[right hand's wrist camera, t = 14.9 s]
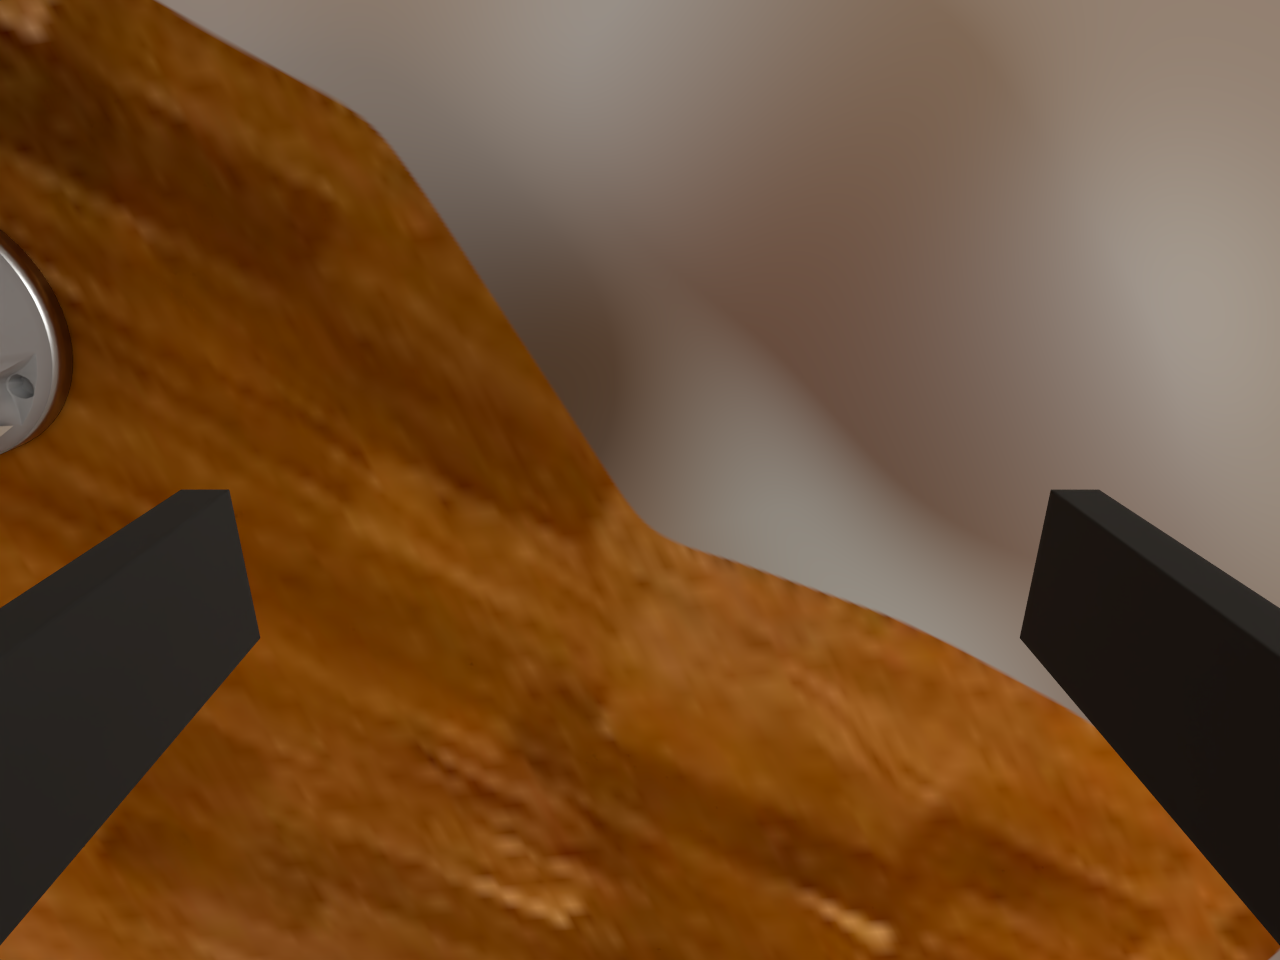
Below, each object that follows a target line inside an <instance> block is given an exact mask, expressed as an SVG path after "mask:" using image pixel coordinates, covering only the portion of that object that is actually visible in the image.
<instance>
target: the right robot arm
mask: <svg viewBox="0 0 1280 960" xmlns="http://www.w3.org/2000/svg"><path fill="white" fill-rule="evenodd" d="M72 372H73V355H72V345H71V339H70V334H69V330H68V327H67V323H66V320H65V317H64V314H63V312H62V309H61V307H60V305H59V303H58V300H57V298H56V296H55V294H54V293H53V291H52V289H51V287H50V286H49V284H48V282H47V281H46V279H45V278H44V276H43V275H42V273H41V272H40V270H39V269H38V268H37V266H36V265H35V264H34V263H33V261H32V260H31V259H30V258H29V257H28V255H27V254H26V253H25V252H24V251H23V250H22V249H21V248H20V247H19V246H18V245H17V244H16V243H15V242H14V241H13V240H12V239H11V238H10V237H9V236H8V235H6V234H5V233H4V232H3V231H1V230H0V454H2V453H4V452H6V451H9V450H11V449H14V448H16V447H18V446H21V445H23V444H25V443H27V442H29V441H31V440H32V439H34V438H36V437H37V436H38V435H40V434H41V433H42V432H43V431H45V430H46V429H47V428H48V427H49V426H50V424H51V423H52V422H53V421H54V420H55V418H56V417H57V416H58V414H59V413H60V411H61V409H62V407H63V405H64V403H65V401H66V398H67V396H68V392H69V389H70V385H71V379H72ZM259 639H260V635H259V630H258V625H257V620H256V616H255V611H254V606H253V601H252V596H251V592H250V587H249V582H248V577H247V573H246V568H245V563H244V558H243V554H242V549H241V544H240V539H239V535H238V530H237V525H236V520H235V516H234V511H233V506H232V501H231V497H230V492H229V490H180V491H178V492H177V493H175V494H174V495H172V496H171V497H169V498H168V499H166V500H165V501H163V502H162V503H160V504H159V505H157V506H156V507H154V508H153V509H151V510H149V511H148V512H146V513H145V514H143V515H142V516H140V517H139V518H137V519H136V520H134V521H133V522H131V523H130V524H128V525H127V526H125V527H124V528H122V529H120V530H119V531H117V532H116V533H114V534H113V535H111V536H110V537H108V538H107V539H105V540H104V541H102V542H101V543H99V544H98V545H96V546H95V547H93V548H91V549H90V550H88V551H87V552H85V553H84V554H82V555H81V556H79V557H78V558H76V559H75V560H73V561H72V562H70V563H69V564H67V565H66V566H64V567H62V568H61V569H59V570H58V571H56V572H55V573H53V574H52V575H50V576H49V577H47V578H46V579H44V580H43V581H41V582H40V583H38V584H37V585H35V586H34V587H32V588H30V589H29V590H27V591H26V592H24V593H23V594H21V595H20V596H18V597H17V598H15V599H14V600H12V601H11V602H9V603H8V604H6V605H5V606H3V607H1V608H0V945H1V944H2V943H3V941H4V940H5V939H6V938H7V937H8V935H9V934H10V933H11V932H12V931H13V930H14V928H15V927H16V926H17V925H18V924H19V922H20V921H21V920H22V919H23V918H24V917H25V915H26V914H27V913H28V912H29V911H30V909H31V908H32V907H33V906H34V905H35V904H36V902H37V901H38V900H39V899H40V898H41V896H42V895H43V894H44V893H45V892H46V891H47V889H48V888H49V887H50V886H51V885H52V883H53V882H54V881H55V880H56V879H57V878H58V876H59V875H60V874H61V873H62V872H63V870H64V869H65V868H66V867H67V866H68V865H69V863H70V862H71V861H72V860H73V859H74V857H75V856H76V855H77V854H78V853H79V852H80V850H81V849H82V848H83V847H84V846H85V844H86V843H87V842H88V841H89V840H90V839H91V837H92V836H93V835H94V834H95V833H96V831H97V830H98V829H99V828H100V827H101V826H102V824H103V823H104V822H105V821H106V820H107V818H108V817H109V816H110V815H111V814H112V813H113V811H114V810H115V809H116V808H117V807H118V805H119V804H120V803H121V802H122V801H123V800H124V798H125V797H126V796H127V795H128V794H129V792H130V791H131V790H132V789H133V788H134V787H135V785H136V784H137V783H138V782H139V781H140V779H141V778H142V777H143V776H144V775H145V774H146V772H147V771H148V770H149V769H150V768H151V766H152V765H153V764H154V763H155V762H156V761H157V759H158V758H159V757H160V756H161V755H162V753H163V752H164V751H165V750H166V749H167V748H168V746H169V745H170V744H171V743H172V742H173V740H174V739H175V738H176V737H177V736H178V735H179V733H180V732H181V731H182V730H183V729H184V727H185V726H186V725H187V724H188V723H189V722H190V720H191V719H192V718H193V717H194V716H195V714H196V713H197V712H198V711H199V710H200V709H201V707H202V706H203V705H204V704H205V703H206V701H207V700H208V699H209V698H210V697H211V695H212V694H213V693H214V692H215V691H216V690H217V688H218V687H219V686H220V685H221V684H222V682H223V681H224V680H225V679H226V678H227V677H228V675H229V674H230V673H231V672H232V671H233V669H234V668H235V667H236V666H237V665H238V664H239V662H240V661H241V660H242V659H243V658H244V656H245V655H246V654H247V653H248V652H249V651H250V649H251V648H252V647H253V646H254V645H255V643H256V642H257V641H258V640H259ZM1020 639H1021V640H1022V641H1023V642H1024V643H1025V645H1026V646H1027V647H1028V648H1029V649H1030V651H1031V652H1032V653H1033V654H1034V655H1035V656H1036V658H1037V659H1038V660H1039V661H1040V662H1041V664H1042V665H1043V666H1044V667H1045V668H1046V669H1047V671H1048V672H1049V673H1050V674H1051V675H1052V677H1053V678H1054V679H1055V680H1056V681H1057V682H1058V684H1059V685H1060V686H1061V687H1062V688H1063V690H1064V691H1065V692H1066V693H1067V694H1068V695H1069V697H1070V698H1071V699H1072V700H1073V701H1074V703H1075V704H1076V705H1077V706H1078V707H1079V709H1080V710H1081V711H1082V712H1083V713H1084V714H1085V716H1086V717H1087V718H1088V719H1089V720H1090V722H1091V723H1092V724H1093V725H1094V726H1095V727H1096V729H1097V730H1098V731H1099V732H1100V733H1101V735H1102V736H1103V737H1104V738H1105V739H1106V740H1107V742H1108V743H1109V744H1110V745H1111V746H1112V748H1113V749H1114V750H1115V751H1116V752H1117V753H1118V755H1119V756H1120V757H1121V758H1122V759H1123V761H1124V762H1125V763H1126V764H1127V765H1128V766H1129V768H1130V769H1131V770H1132V771H1133V772H1134V774H1135V775H1136V776H1137V777H1138V778H1139V779H1140V781H1141V782H1142V783H1143V784H1144V785H1145V787H1146V788H1147V789H1148V790H1149V791H1150V792H1151V794H1152V795H1153V796H1154V797H1155V798H1156V800H1157V801H1158V802H1159V803H1160V804H1161V805H1162V807H1163V808H1164V809H1165V810H1166V811H1167V813H1168V814H1169V815H1170V816H1171V817H1172V818H1173V820H1174V821H1175V822H1176V823H1177V824H1178V826H1179V827H1180V828H1181V829H1182V830H1183V831H1184V833H1185V834H1186V835H1187V836H1188V837H1189V839H1190V840H1191V841H1192V842H1193V843H1194V844H1195V846H1196V847H1197V848H1198V849H1199V850H1200V852H1201V853H1202V854H1203V855H1204V856H1205V857H1206V859H1207V860H1208V861H1209V862H1210V863H1211V865H1212V866H1213V867H1214V868H1215V869H1216V870H1217V872H1218V873H1219V874H1220V875H1221V876H1222V878H1223V879H1224V880H1225V881H1226V882H1227V883H1228V885H1229V886H1230V887H1231V888H1232V889H1233V891H1234V892H1235V893H1236V894H1237V895H1238V896H1239V898H1240V899H1241V900H1242V901H1243V902H1244V904H1245V905H1246V906H1247V907H1248V908H1249V909H1250V911H1251V912H1252V913H1253V914H1254V915H1255V917H1256V918H1257V919H1258V920H1259V921H1260V922H1261V924H1262V925H1263V926H1264V927H1265V928H1266V930H1267V931H1268V932H1269V933H1270V934H1271V935H1272V937H1273V938H1274V939H1275V940H1276V941H1277V943H1278V944H1279V945H1280V608H1279V607H1277V606H1275V605H1274V604H1272V603H1271V602H1269V601H1268V600H1266V599H1265V598H1263V597H1262V596H1260V595H1259V594H1257V593H1256V592H1254V591H1253V590H1251V589H1250V588H1248V587H1246V586H1245V585H1243V584H1242V583H1240V582H1239V581H1237V580H1236V579H1234V578H1233V577H1231V576H1230V575H1228V574H1227V573H1225V572H1224V571H1222V570H1221V569H1219V568H1217V567H1216V566H1214V565H1213V564H1211V563H1210V562H1208V561H1207V560H1205V559H1204V558H1202V557H1201V556H1199V555H1198V554H1196V553H1195V552H1193V551H1192V550H1190V549H1189V548H1187V547H1185V546H1184V545H1182V544H1181V543H1179V542H1178V541H1176V540H1175V539H1173V538H1172V537H1170V536H1169V535H1167V534H1166V533H1164V532H1163V531H1161V530H1160V529H1158V528H1156V527H1155V526H1153V525H1152V524H1150V523H1149V522H1147V521H1146V520H1144V519H1143V518H1141V517H1140V516H1138V515H1137V514H1135V513H1134V512H1132V511H1131V510H1129V509H1127V508H1126V507H1124V506H1123V505H1121V504H1120V503H1118V502H1117V501H1115V500H1114V499H1112V498H1111V497H1109V496H1108V495H1106V494H1105V493H1103V492H1102V491H1100V490H1051V492H1050V497H1049V501H1048V506H1047V511H1046V516H1045V520H1044V525H1043V530H1042V535H1041V539H1040V544H1039V549H1038V554H1037V558H1036V563H1035V568H1034V573H1033V577H1032V582H1031V587H1030V592H1029V597H1028V601H1027V606H1026V611H1025V616H1024V620H1023V625H1022V630H1021V635H1020Z"/></svg>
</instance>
